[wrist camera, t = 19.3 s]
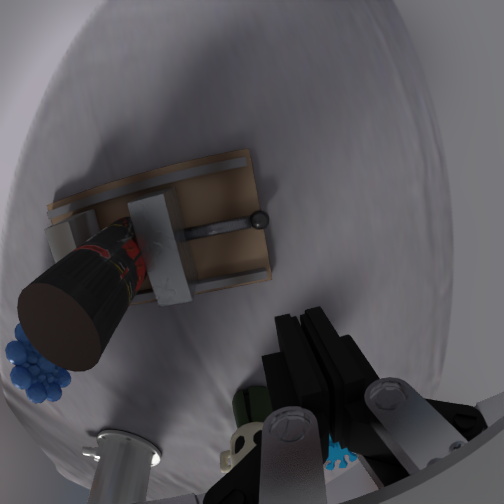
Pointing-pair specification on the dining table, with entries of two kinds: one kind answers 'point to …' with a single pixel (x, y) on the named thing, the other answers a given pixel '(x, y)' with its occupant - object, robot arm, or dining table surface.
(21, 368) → the grapes
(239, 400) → the character mug
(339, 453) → the blue knobbly toy
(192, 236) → the sliding jaw
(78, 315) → the deodorant
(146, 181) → the vise bed
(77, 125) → the dining table surface
